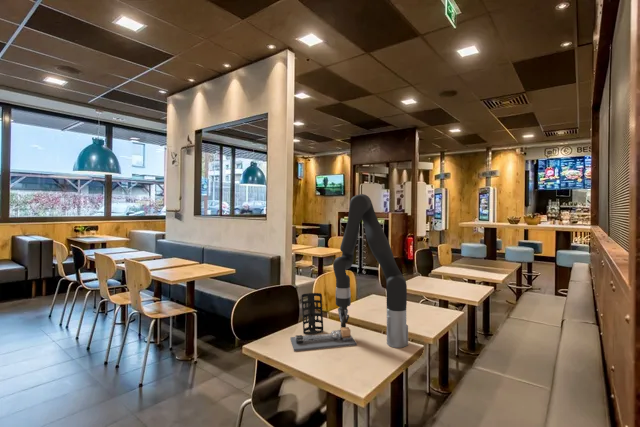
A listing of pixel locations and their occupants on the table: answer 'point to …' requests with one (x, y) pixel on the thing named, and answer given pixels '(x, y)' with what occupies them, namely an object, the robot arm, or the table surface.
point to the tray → (320, 344)
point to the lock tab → (345, 331)
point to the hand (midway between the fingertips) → (343, 329)
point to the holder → (312, 313)
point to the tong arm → (312, 336)
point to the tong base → (335, 336)
